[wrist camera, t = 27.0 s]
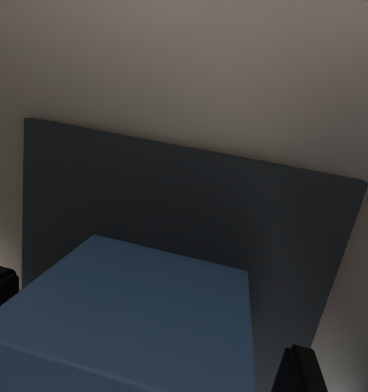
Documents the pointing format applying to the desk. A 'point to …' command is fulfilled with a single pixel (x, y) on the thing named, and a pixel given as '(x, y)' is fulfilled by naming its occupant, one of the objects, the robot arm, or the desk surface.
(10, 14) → the desk surface
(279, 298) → the mat
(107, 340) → the blue box
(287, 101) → the desk surface
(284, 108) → the desk surface
